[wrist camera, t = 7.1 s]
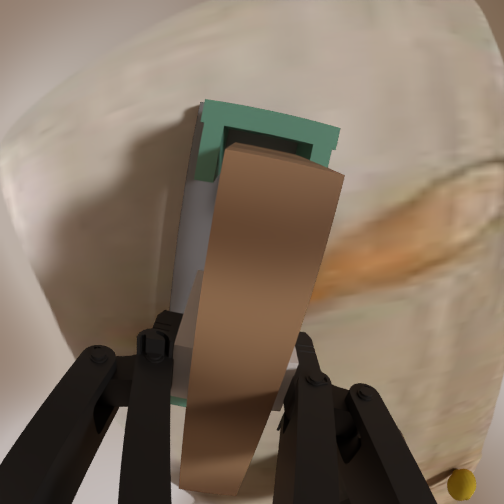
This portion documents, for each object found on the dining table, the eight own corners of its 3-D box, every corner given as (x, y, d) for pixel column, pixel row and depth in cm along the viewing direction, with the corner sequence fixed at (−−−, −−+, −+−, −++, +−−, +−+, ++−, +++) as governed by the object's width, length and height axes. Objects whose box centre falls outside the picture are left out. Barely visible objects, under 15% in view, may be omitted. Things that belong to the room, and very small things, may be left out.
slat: (237, 396, 21) (235, 495, 13) (194, 389, 20) (178, 488, 13) (296, 154, 15) (344, 175, 8) (235, 142, 15) (224, 149, 7)
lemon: (461, 459, 38) (477, 489, 31) (469, 463, 40) (484, 491, 32) (437, 476, 40) (451, 507, 32) (447, 479, 41) (460, 507, 34)
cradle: (266, 370, 28) (270, 421, 22) (168, 354, 27) (153, 402, 21) (329, 130, 21) (359, 128, 15) (202, 103, 20) (186, 91, 14)
